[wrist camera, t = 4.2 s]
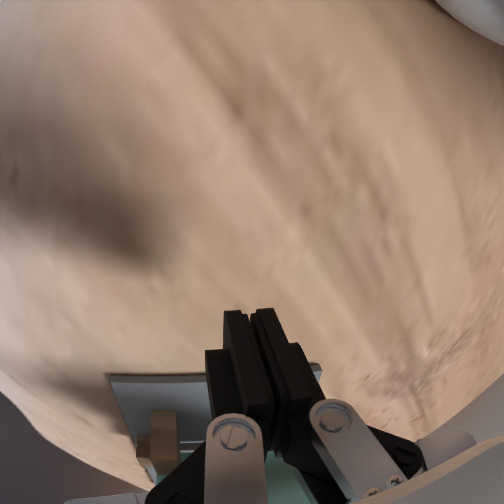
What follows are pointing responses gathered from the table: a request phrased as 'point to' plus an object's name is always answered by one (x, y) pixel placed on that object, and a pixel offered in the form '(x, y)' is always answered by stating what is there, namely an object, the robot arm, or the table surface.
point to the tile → (273, 481)
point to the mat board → (168, 403)
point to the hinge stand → (162, 443)
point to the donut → (479, 16)
